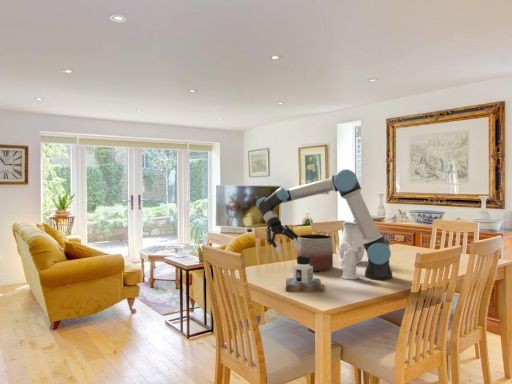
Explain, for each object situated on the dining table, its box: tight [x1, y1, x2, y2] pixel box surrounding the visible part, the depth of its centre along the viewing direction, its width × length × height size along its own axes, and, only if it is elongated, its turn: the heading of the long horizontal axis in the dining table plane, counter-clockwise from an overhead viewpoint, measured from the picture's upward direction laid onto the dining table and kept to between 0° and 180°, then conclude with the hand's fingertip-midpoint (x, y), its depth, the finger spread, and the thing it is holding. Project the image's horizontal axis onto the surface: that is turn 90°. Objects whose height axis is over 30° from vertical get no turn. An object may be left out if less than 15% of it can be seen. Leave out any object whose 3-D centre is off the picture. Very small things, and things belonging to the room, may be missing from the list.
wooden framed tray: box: [285, 277, 323, 293], centre depth 204 cm, size 18×16×3 cm
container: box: [293, 256, 314, 284], centre depth 204 cm, size 8×8×13 cm
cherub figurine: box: [340, 241, 362, 280], centre depth 224 cm, size 12×12×22 cm
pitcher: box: [338, 219, 365, 264], centre depth 270 cm, size 24×17×28 cm
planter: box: [296, 233, 334, 272], centre depth 249 cm, size 22×22×20 cm
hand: (289, 250), depth 213 cm, fingers open, 13 cm apart
